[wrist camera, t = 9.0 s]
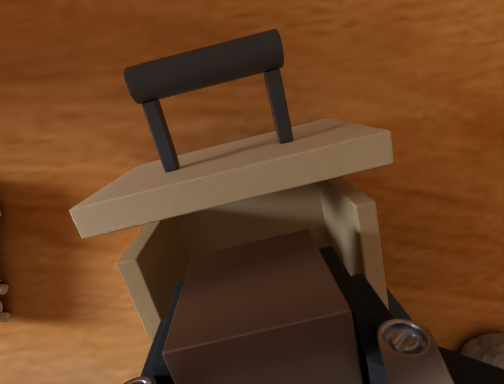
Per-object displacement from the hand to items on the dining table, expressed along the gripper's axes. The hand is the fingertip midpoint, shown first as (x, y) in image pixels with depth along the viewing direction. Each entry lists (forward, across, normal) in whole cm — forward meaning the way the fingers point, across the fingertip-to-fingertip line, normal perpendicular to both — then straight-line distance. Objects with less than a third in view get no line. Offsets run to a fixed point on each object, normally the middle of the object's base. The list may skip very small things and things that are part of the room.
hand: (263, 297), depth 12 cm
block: (0, 0, 0) cm, 0 cm away
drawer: (+7, 0, -1) cm, 7 cm away
